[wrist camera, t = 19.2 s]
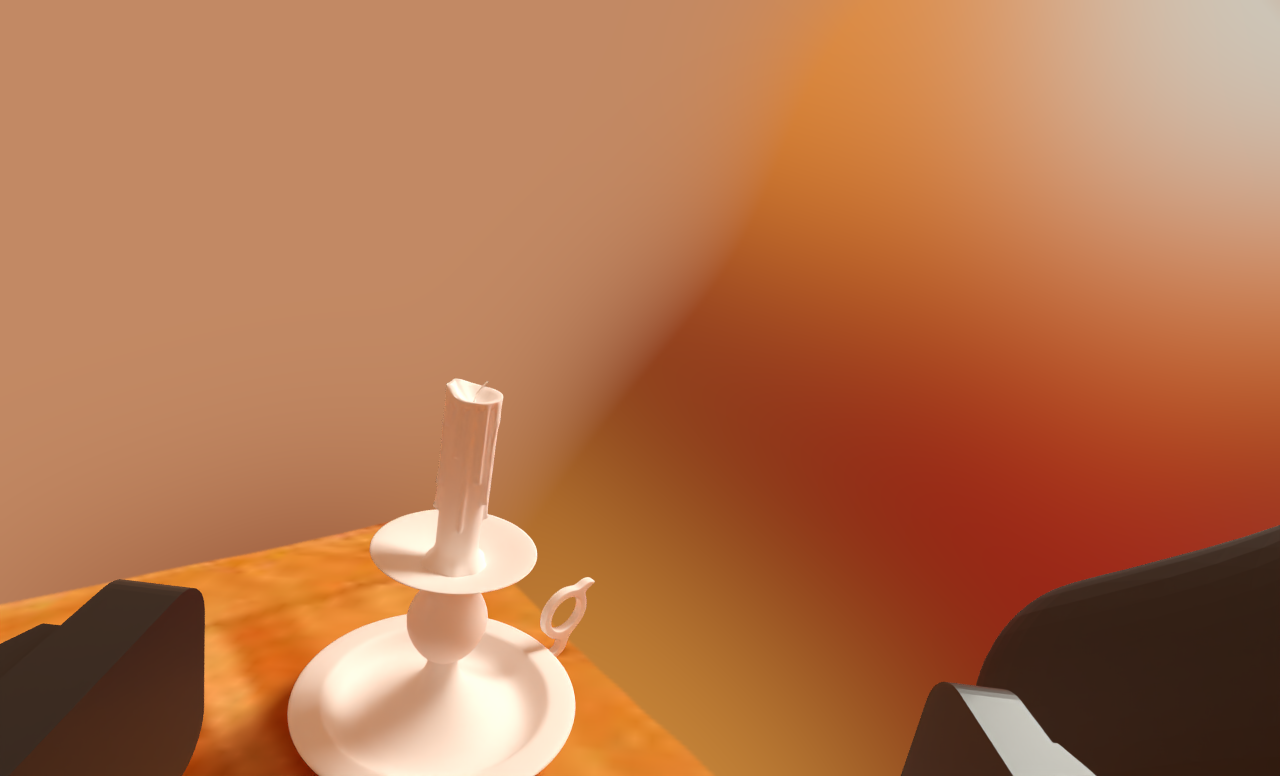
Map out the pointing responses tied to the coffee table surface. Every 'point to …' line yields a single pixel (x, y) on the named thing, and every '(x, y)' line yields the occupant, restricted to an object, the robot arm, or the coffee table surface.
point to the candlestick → (444, 639)
